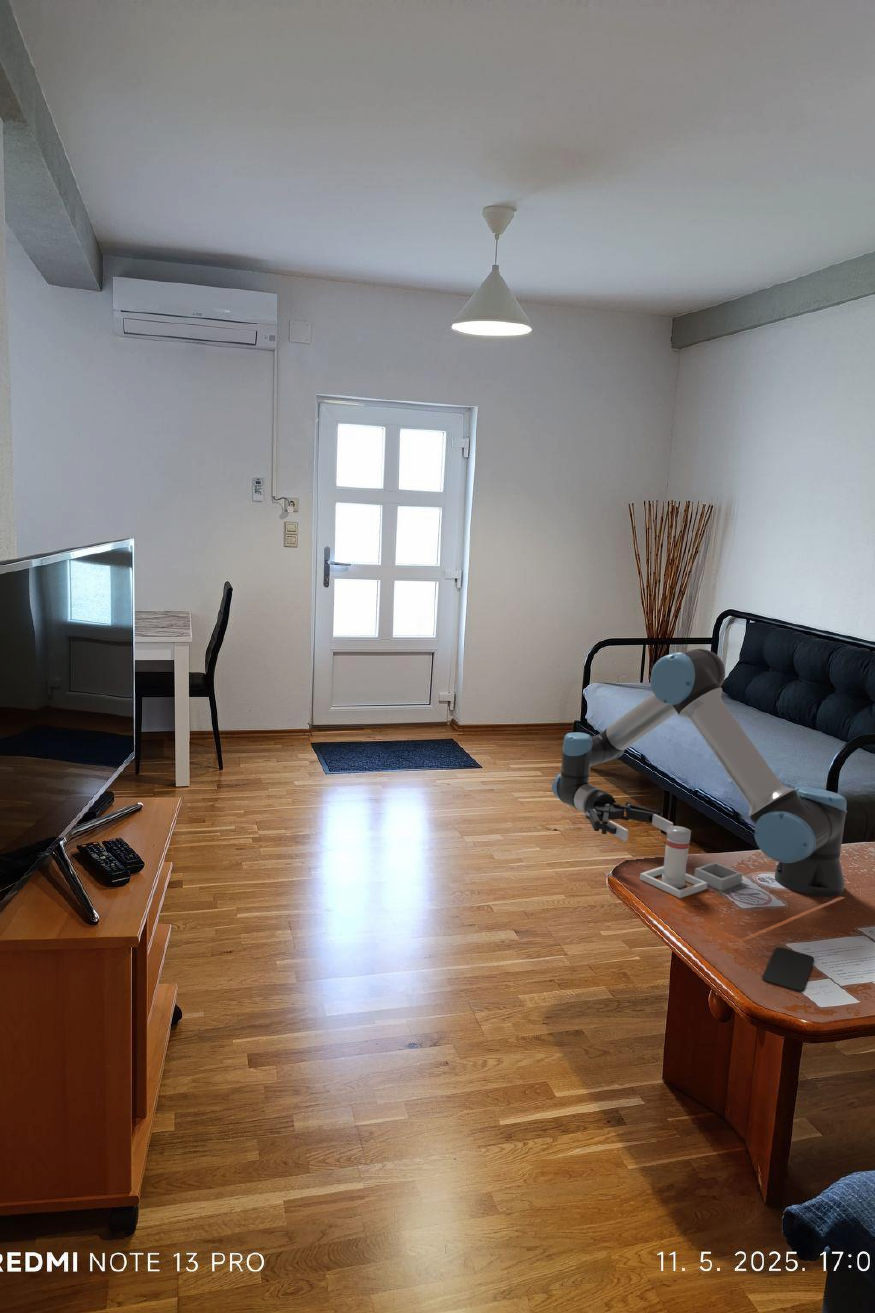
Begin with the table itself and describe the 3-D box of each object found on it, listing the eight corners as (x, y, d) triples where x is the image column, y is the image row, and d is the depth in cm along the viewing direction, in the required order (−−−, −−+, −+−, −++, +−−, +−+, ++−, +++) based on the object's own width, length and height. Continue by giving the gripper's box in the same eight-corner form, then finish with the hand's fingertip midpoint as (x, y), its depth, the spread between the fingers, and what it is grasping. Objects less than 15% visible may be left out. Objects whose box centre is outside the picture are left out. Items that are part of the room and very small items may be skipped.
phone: (761, 979, 168) (775, 945, 181) (760, 983, 168) (775, 949, 181) (803, 991, 164) (815, 956, 177) (802, 995, 164) (815, 960, 177)
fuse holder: (749, 887, 209) (750, 875, 208) (725, 896, 203) (726, 883, 203) (709, 870, 217) (710, 858, 217) (685, 879, 212) (687, 866, 212)
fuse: (689, 885, 207) (695, 831, 205) (674, 890, 204) (681, 835, 202) (670, 877, 211) (676, 824, 209) (656, 881, 208) (662, 828, 206)
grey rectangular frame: (706, 891, 206) (707, 882, 206) (679, 900, 200) (680, 892, 200) (666, 872, 215) (667, 864, 215) (639, 881, 209) (640, 873, 209)
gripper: (632, 811, 239) (687, 840, 221) (554, 822, 228) (605, 854, 209) (634, 784, 238) (691, 811, 219) (556, 794, 227) (608, 823, 208)
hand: (649, 832), depth 214 cm, fingers open, 13 cm apart
